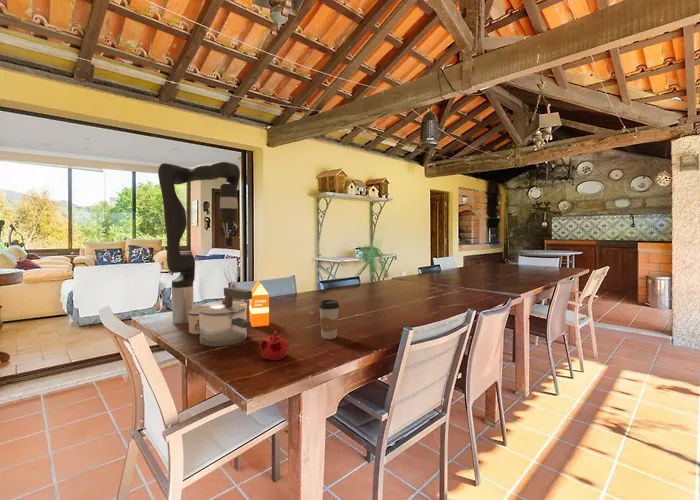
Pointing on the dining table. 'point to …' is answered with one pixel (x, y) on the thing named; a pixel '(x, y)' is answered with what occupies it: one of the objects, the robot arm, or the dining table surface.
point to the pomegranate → (274, 347)
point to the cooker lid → (227, 302)
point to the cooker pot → (223, 328)
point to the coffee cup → (329, 318)
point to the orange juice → (259, 306)
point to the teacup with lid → (194, 321)
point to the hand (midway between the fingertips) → (229, 246)
